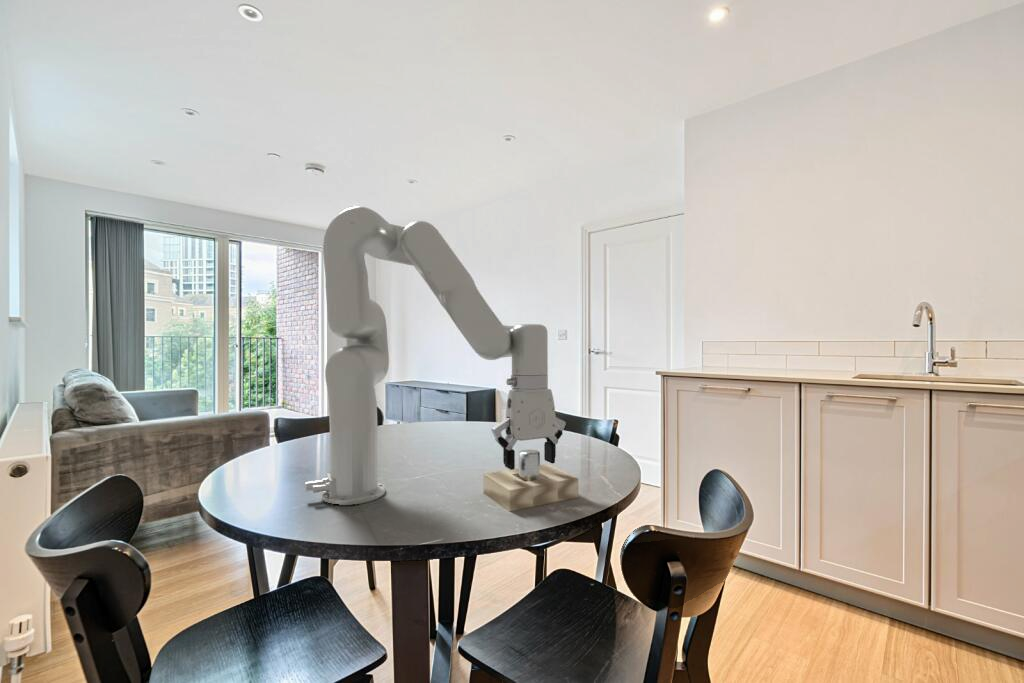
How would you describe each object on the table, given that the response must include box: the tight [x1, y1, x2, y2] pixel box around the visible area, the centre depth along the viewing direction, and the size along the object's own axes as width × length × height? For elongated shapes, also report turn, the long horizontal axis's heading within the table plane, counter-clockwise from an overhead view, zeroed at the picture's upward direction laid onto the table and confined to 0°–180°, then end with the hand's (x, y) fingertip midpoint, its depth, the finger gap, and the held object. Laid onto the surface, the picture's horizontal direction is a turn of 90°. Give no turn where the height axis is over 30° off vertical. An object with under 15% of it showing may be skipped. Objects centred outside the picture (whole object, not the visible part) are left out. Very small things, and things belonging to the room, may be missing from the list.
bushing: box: [518, 449, 541, 482], centre depth 94 cm, size 4×4×9 cm
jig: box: [482, 463, 579, 512], centre depth 94 cm, size 16×12×4 cm
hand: (530, 464), depth 94 cm, fingers open, 9 cm apart
